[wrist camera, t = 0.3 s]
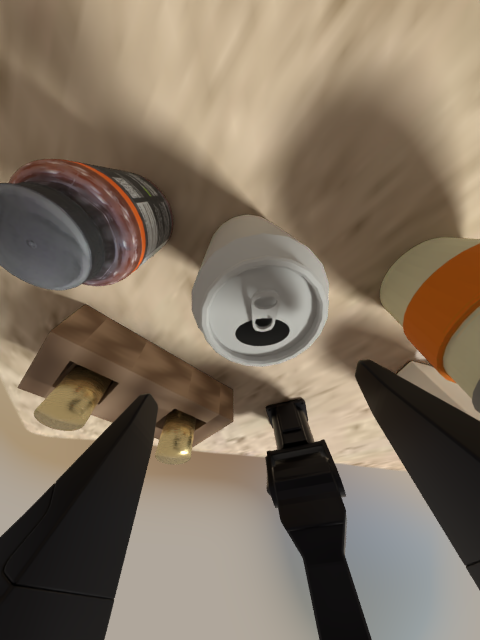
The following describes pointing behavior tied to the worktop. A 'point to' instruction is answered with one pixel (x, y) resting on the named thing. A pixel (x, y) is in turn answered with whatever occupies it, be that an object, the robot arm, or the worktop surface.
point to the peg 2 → (176, 438)
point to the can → (259, 293)
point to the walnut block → (128, 373)
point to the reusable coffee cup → (440, 306)
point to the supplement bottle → (79, 224)
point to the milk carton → (438, 386)
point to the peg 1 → (72, 400)
